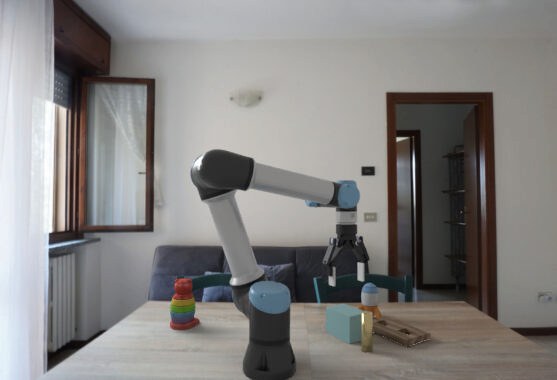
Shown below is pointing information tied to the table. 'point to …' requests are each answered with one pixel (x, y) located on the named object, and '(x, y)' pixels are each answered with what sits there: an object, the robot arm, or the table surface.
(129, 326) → the table surface
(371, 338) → the peg
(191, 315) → the stacking bear
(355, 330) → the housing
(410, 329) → the board
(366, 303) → the toy rocket
